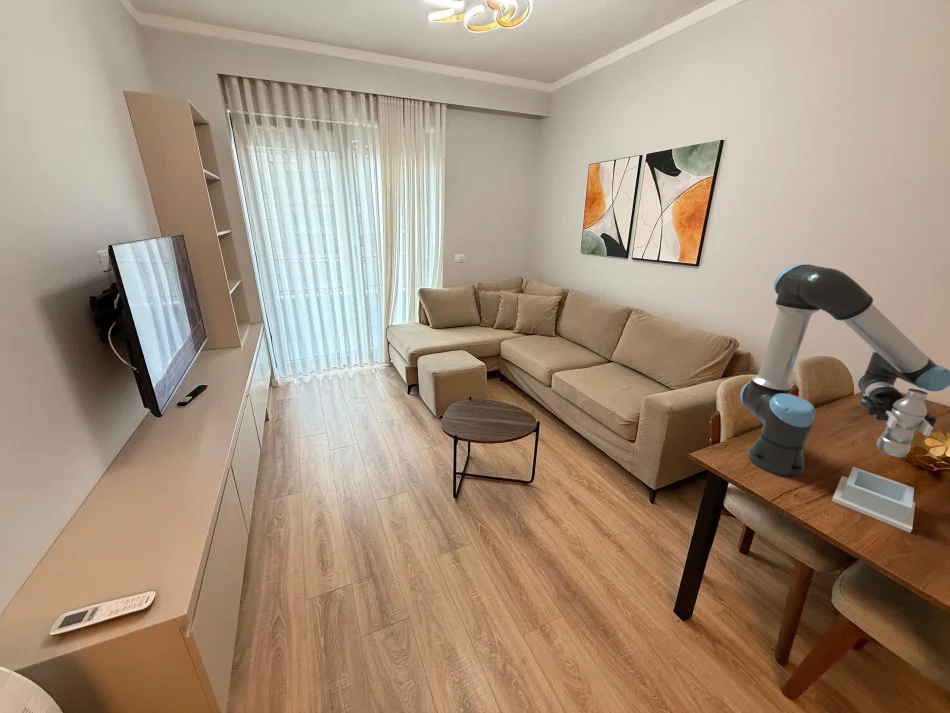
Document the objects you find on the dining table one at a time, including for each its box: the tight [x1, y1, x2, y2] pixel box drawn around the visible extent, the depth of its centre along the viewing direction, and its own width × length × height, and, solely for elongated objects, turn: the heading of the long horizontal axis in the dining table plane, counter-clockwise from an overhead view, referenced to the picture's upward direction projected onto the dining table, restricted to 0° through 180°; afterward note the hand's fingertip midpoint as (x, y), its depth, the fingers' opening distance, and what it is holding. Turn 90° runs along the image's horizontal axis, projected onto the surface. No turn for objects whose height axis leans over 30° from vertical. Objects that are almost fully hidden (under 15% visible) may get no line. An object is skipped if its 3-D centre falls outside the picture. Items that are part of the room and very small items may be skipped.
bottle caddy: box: [831, 466, 916, 533], centre depth 112 cm, size 16×16×6 cm
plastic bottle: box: [876, 388, 929, 458], centre depth 109 cm, size 6×7×20 cm
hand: (911, 427), depth 104 cm, fingers closed on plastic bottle, 6 cm apart
